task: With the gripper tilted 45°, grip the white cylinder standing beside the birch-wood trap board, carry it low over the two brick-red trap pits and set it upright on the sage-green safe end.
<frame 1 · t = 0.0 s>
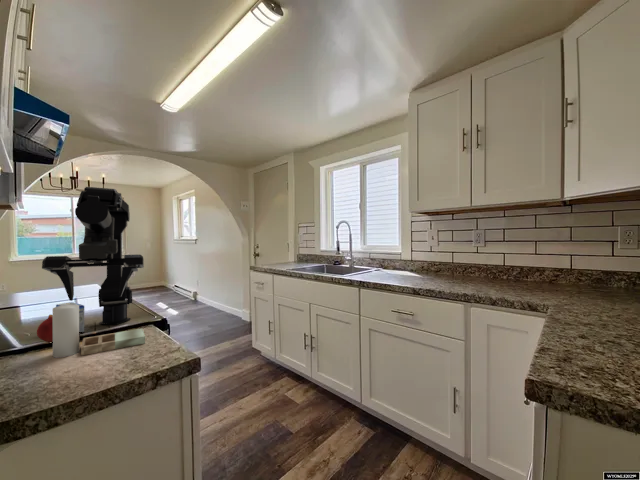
hand: (96, 298, 65), 15 cm above the countertop, tool pointing down, fingers open, 9 cm apart
white cylinder: (66, 353, 70), on the countertop
trap board: (114, 344, 76), on the countertop
medicine box: (70, 332, 85), on the countertop
onion: (51, 343, 77), on the countertop
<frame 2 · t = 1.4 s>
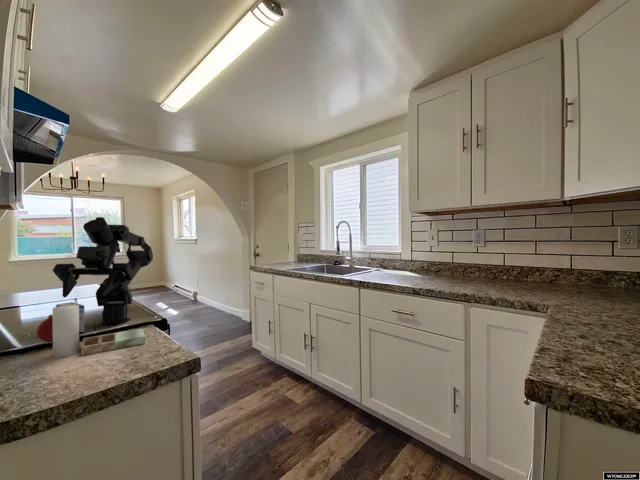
hand: (83, 295, 77), 13 cm above the countertop, tool tilted 45°, fingers open, 9 cm apart
nothing on the countertop moved.
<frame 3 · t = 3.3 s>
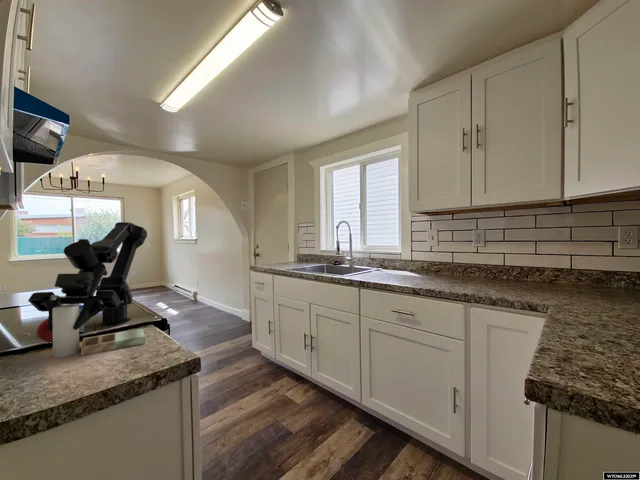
hand: (62, 329, 69), 7 cm above the countertop, tool tilted 45°, fingers closed on white cylinder, 5 cm apart
white cylinder: (66, 353, 70), on the countertop, touching gripper
everything else where it was.
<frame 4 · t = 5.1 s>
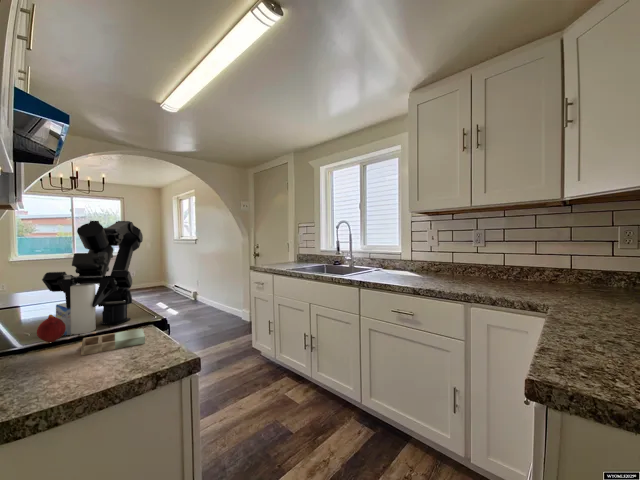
hand: (80, 307, 71), 12 cm above the countertop, tool tilted 45°, fingers closed on white cylinder, 5 cm apart
white cylinder: (83, 330, 72), point 5 cm above the countertop, touching gripper
everything else where it was.
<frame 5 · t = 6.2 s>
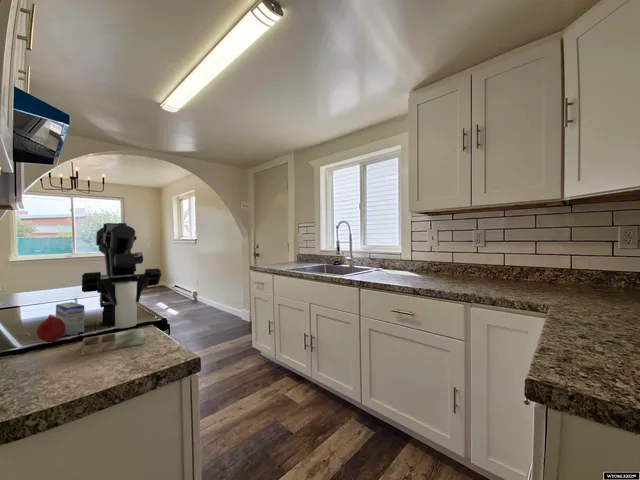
hand: (126, 303, 77), 11 cm above the countertop, tool tilted 45°, fingers closed on white cylinder, 5 cm apart
white cylinder: (126, 325, 78), point 5 cm above the countertop, touching gripper
everything else where it was.
when the fingers open (9 cm above the countertop, at t = 7.1 s): white cylinder stays where it is, resting on trap board.
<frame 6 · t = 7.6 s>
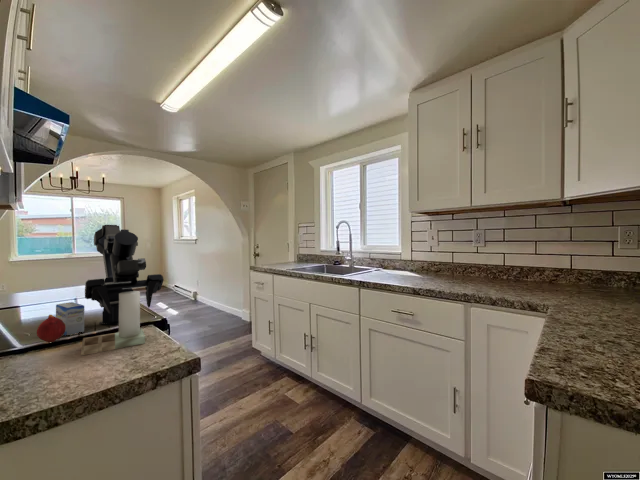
hand: (130, 309, 77), 10 cm above the countertop, tool tilted 45°, fingers open, 9 cm apart
white cylinder: (129, 334, 79), point 2 cm above the countertop, touching trap board
everything else where it was.
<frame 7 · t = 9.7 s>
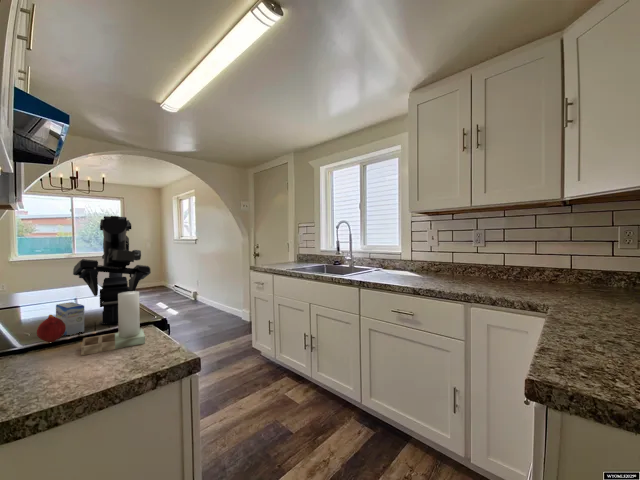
hand: (114, 296, 82), 12 cm above the countertop, tool tilted 30°, fingers open, 9 cm apart
nothing on the countertop moved.
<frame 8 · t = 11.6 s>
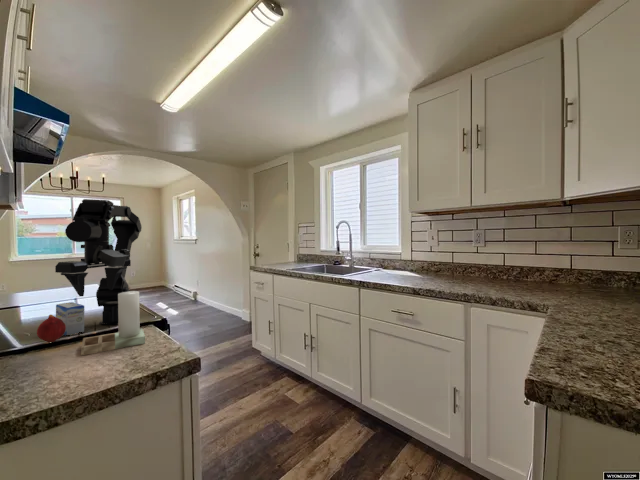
hand: (97, 292, 82), 13 cm above the countertop, tool pointing down, fingers open, 9 cm apart
nothing on the countertop moved.
at the end: white cylinder 0.1 cm from the target spot on the trap board, point 2.0 cm above the trap board's base; white cylinder tilted 1°; the gripper is holding nothing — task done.
